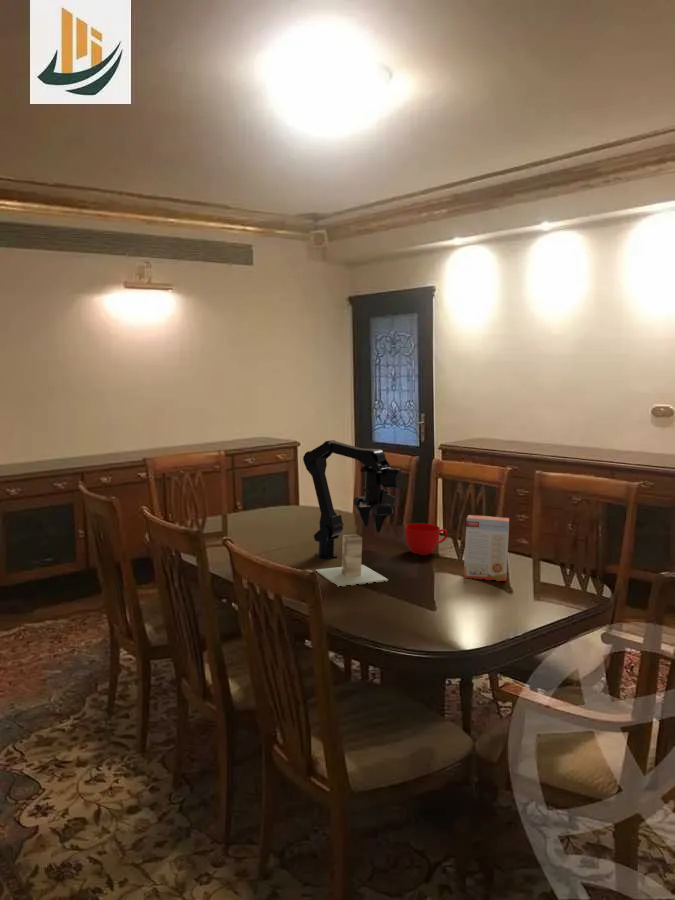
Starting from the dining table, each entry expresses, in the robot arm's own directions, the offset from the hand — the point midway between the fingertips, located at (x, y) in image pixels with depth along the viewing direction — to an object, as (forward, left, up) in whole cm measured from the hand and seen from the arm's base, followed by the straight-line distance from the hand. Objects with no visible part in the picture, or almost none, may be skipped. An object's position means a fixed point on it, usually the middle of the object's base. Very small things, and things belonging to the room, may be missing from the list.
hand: (371, 529), depth 255 cm
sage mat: (+9, -12, -13) cm, 20 cm away
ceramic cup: (-8, +28, -13) cm, 32 cm away
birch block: (+9, -12, -12) cm, 19 cm away
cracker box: (+26, +30, -13) cm, 42 cm away
